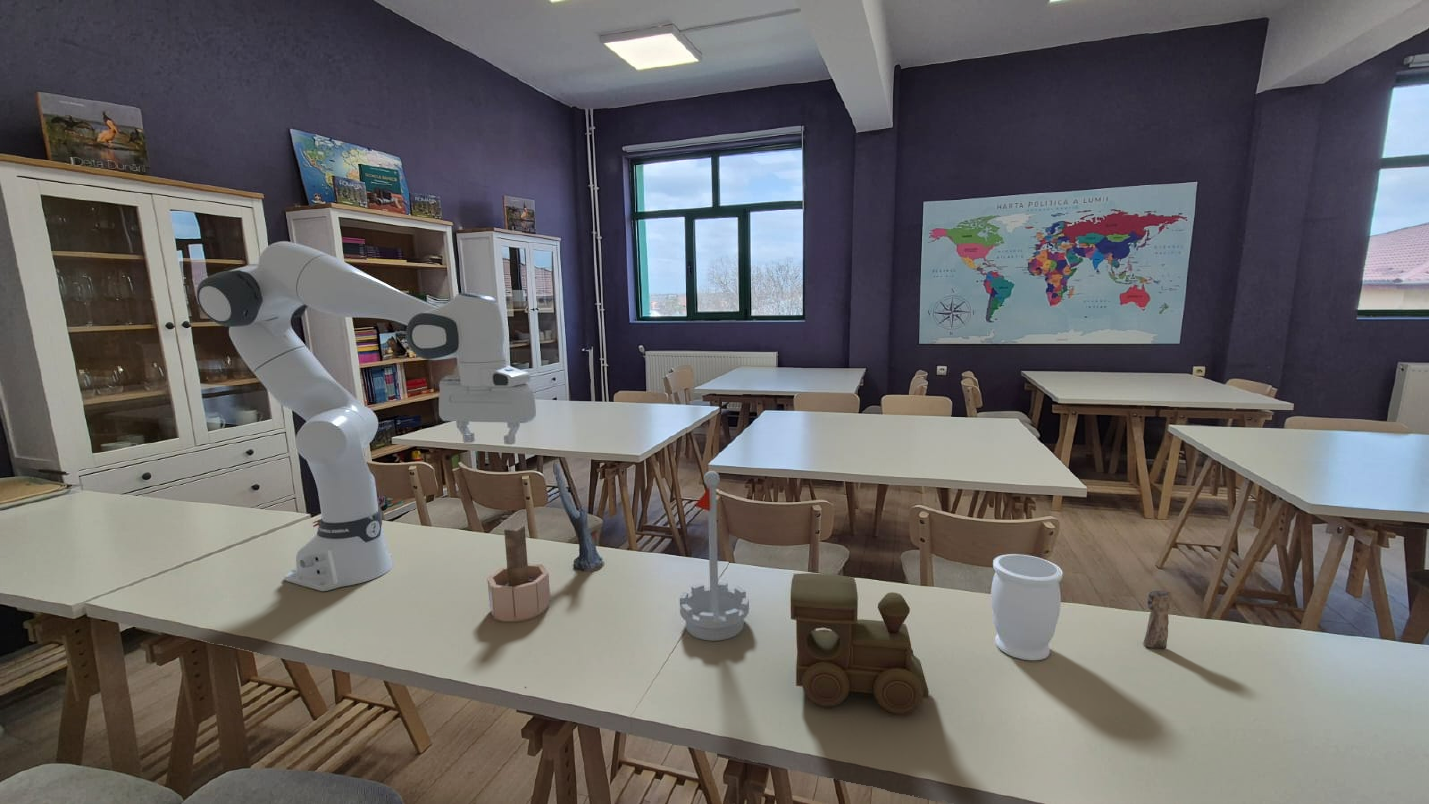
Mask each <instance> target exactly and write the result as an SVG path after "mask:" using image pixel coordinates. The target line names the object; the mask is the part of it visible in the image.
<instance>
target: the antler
mask: <svg viewBox="0 0 1429 804" xmlns="http://www.w3.org/2000/svg"><path fill="white" fill-rule="evenodd" d="M552 470H553V471H552V472H553V474H554V476H555V481H556V485H557V489H558V494H559V497H560V500H561V504H562V506H563V508H564V510H565V513H566V514H567V516H568V519H569V521H570V523H571V524H572V527H573V528H574V532H575V535H576V538H577V540H578V547H579V548H578V551H579V554H578V556H577V557H575V558H574V560H573V565H572V567H573V570H576V571H578V572H580V571H581V572H582V571H583V572H584V573H590V572H595V571H598V570H601V568H602V567H603V566H605V562H604V561H603V556H602V557H601V556H600V554H599V553H598V551H597V547H596V543H595V541H594V540H593V536H592V534H591V533H590V529H589V527H588V525H589V523H588V522H589V521H588V510H587V509H586V508H580V509H579V511H578V510H577V508H576V506H575V505H574V502H573V501H572V498H571V496H570V493H569V491H568V487H567V486H566V482H565V479H564V477H563V476H562V475H563V474H562V473H561V469H560V467H559V465H557V462H556V461H555V462H553V465H552Z"/></svg>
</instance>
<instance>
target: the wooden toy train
mask: <svg viewBox="0 0 1429 804" xmlns="http://www.w3.org/2000/svg"><path fill="white" fill-rule="evenodd" d="M790 584H791V585H790V620H794V621H796V622H795V624H796V625H795V626H796V628H795V629H796V630H795V631H796V632H795V633H796V662H795V663H796V664H795V668H796V669H795V678H796V679H795V685H796V687H802V689H803V692H804V693H805V696H806V697H807V698H809V700H810V701H811V702H813V703H815V704H816V705H818V706H820V707H826V708H828V707H834V706H839V704H841V703H842V702H844V701H845V699H847V697H848V696H849V694H850V692H855V693H856V692H857V693H866V694H867V693H869V694H873V697H874V698H875V700H876V701H877V703H878V704H879V705H880V706H881V708H883V709H884V710H886V711H888V712H889V713H891V714H896V715H906V714H908V713H911V712H914V711H915V710H916V709H918V707H919V706H920V704H922V703H921V702H922V701H923V699H929V695H930V694H929V693H930V692H929V688H928V685H927V681H926V677H925V674H924V671H923V667H922V663H921V660H920V659H919V658H918V657H916V655H915V654H914V650H913V648H912V643H911V637H910V633H909V630H908V627H907V625H906V623H904V622H905V621H906V619H907V618H908V616H909V614H910V612H911V608H910V606H909V605H908V603H907V601H906V599H905V598H904V597H903V595H902V594H900V593H898V592H893V591H892V592H888V593H886V594H885V595H884V596H883V597H882V599H880V601H879V602H878V603H877V609H878V612H879V614H880V616H881V618H882V620H875V619H874V620H873V619H861V618H860V619H858V610H859V609H858V608H859V607H858V606H859V603H858V601H859V596H858V595H859V594H858V587H857V583H856V579H855V577H853V576H849V575H848V576H846V575H842V574H840V575H839V574H832V573H830V574H829V573H816V572H815V573H812V572H811V573H810V572H808V573H804V572H803V573H793V576H792V579H791V583H790Z"/></svg>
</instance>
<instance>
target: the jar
mask: <svg viewBox="0 0 1429 804" xmlns="http://www.w3.org/2000/svg"><path fill="white" fill-rule="evenodd" d="M992 566H993V567H992V568H993V570H994V571H995V573H994V575H993V578H992V583H991V590H990V602H991V604H990V605H991V609H992V610H991V611H992V618H993V619H992V620H993V625H994V628H995V630H996V633H997V634H996V635H995V638H994V643H995V645H996V647H997V648H998V649H999V650H1001V652H1003V653H1004V654H1007V655H1008V656H1011V657H1013V658H1017V659H1019V660H1024V661H1041V660H1044V659H1046V658H1048V657H1049V655H1050V653H1051V650H1050V647H1049V644H1050V642H1051V641H1052V639H1053V637H1054V634H1055V631H1056V627H1057V625H1058V621H1059V617H1060V612H1061V607H1062V606H1061V604H1062V601H1061V599H1062V598H1061V597H1062V596H1061V594H1062V593H1061V587H1060V582H1061V581H1062V579H1063V570H1062V569H1061V568H1060V567H1059V565H1057V564H1055V563H1054V562H1051V561H1049V560H1046V559H1045V558H1041V557H1039V556H1033V555H1029V554H1021V553H1020V554H1019V553H1010V554H1009V553H1006V554H1002V555H998V556H996V557H995V558H994V559H993V560H992Z"/></svg>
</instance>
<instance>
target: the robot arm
mask: <svg viewBox="0 0 1429 804" xmlns="http://www.w3.org/2000/svg"><path fill="white" fill-rule="evenodd" d="M196 297H197V302H198V305H199V307H200V309H201V310H202V312H203V313H204V315H206V316H207V317H208V318H209V319H210V320H211V321H212V322H214V323H216V324H218V325H220V326H222V327H228V335H229V338H230V340H231V342H232V345H233V346H234V347H235V349H236V351H237V353H238V355H240V357H241V359H242V360H243V361H244V362H245V364H246V365H247V367H248V368H249V369H250V371H252V373H253V374H254V375H255V376H256V378H257V379H258V380H259V381H260V383H261V384H262V385H263V386H264V388H266V390H267V391H268V392H269V393H270V394H271V396H272V397H273V398H274V399H275V400H276V401H277V403H279V404H280V405H281V406H282V407H285V408H288V409H290V410H291V411H293V412H294V413H295V414H296V415H298V416H300V417H301V418H302V419H303V420H305V423H304V424H303V425H302V426H301V427H300V429H299V430H298V431H297V433H296V436H295V441H294V442H295V443H294V444H295V447H296V450H297V452H298V454H299V456H301V457H302V458H303V459H304V460H306V461H307V464H308V467H309V469H310V471H311V473H312V476H313V478H314V480H315V481H314V482H315V484H316V488H317V493H318V495H317V496H318V501H319V507H320V514H321V518H320V519H317V520H315V521H313V522H312V524H314V525H312V527H313V528H315V527H317V526H318V527H317V532H316V535H314V537H313V538H311V540H309V541H308V542H307V543H306V544H304V545H303V546H302V547H301V548H300V549H299V550H298V551H297V552H296V556H295V565H296V566H295V568H293V569H291V570H290V571H288V572H287V573H286V574H285V575H284V581H286V582H288V583H293V584H296V585H300V586H303V587H306V588H309V589H313V590H317V591H320V592H327V591H331V590H334V589H338V588H342V587H347V586H353V585H357V584H362V583H365V582H368V581H371V580H374V579H377V578H379V577H381V576H383V575H385V574H386V573H388V572H390V570H391V569H393V565H394V563H393V561H392V559H391V558H392V553H391V552H389V549H388V545H387V541H386V537H385V533H384V530H383V527H382V525H383V519H382V518H383V514H382V512H381V509H380V508H379V505H378V504H379V502H378V495H377V488H376V479H375V477H374V474H372V473H371V471H370V469H369V465H368V464H367V461H366V458H365V454H364V452H365V451H364V449H365V447H366V446H368V445H369V444H370V443H371V442H372V441H373V440H374V438H375V436H376V434H377V431H378V428H379V419H378V417H377V415H376V413H375V412H374V411H373V410H372V409H371V408H369V407H367V406H365V405H364V404H362V403H361V401H359V400H358V399H357V398H356V397H355V396H354V395H352V394H351V393H350V392H349V391H348V390H347V389H346V388H345V387H343V386H342V385H341V384H340V383H339V382H338V381H336V380H335V379H334V377H333V376H331V374H330V373H329V372H328V371H327V369H326V368H325V367H324V366H323V365H322V363H320V361H319V360H318V359H317V358H316V356H315V355H314V354H313V352H312V350H310V349H309V348H308V347H307V345H306V344H305V343H304V342H303V340H301V338H300V337H299V336H298V335H297V333H296V332H295V331H294V329H293V327H292V324H291V320H292V317H293V318H301V317H302V316H304V314H305V312H306V310H307V309H308V308H309V307H310V308H312V309H314V310H316V311H319V312H322V313H325V314H328V315H332V316H336V317H342V318H366V319H368V318H372V319H383V320H389V321H393V322H397V323H399V324H402V325H405V326H406V328H405V329H406V330H405V338H406V342H407V345H408V347H409V348H410V350H411V351H412V352H413V354H414V355H416V356H417V357H418V358H420V359H423V360H428V361H429V360H430V361H438V360H447V359H448V360H449V359H454V358H456V359H457V360H458V371H459V374H458V375H452V374H449V375H445V376H444V377H442V378H441V379H440V381H439V384H438V385H439V396H438V415H439V417H440V418H441V420H442V421H443V422H456V423H455V424H456V428H457V429H458V431H459V432H460V434H461V435H462V442H463V443H465V444H473V443H474V442H475V441H476V439H475V438H476V437H475V433H474V432H471V430H470V429H469V426H468V425H470V423H471V422H473V423H506V424H507V428H508V429H509V430H508V432H507V434H506V435H503V440H504V441H503V442H504V443H503V444H504V445H514V444H516V435H517V433H518V431H519V428H520V424H526V423H529V422H531V421H533V420H534V419H535V418H536V416H537V415H536V414H537V409H536V400H535V394H534V391H533V390H534V389H532V387H531V385H530V384H529V383H530V382H531V374H530V373H529V372H527V371H525V370H523V369H519V368H517V367H513V366H512V365H508V364H507V357H506V354H505V352H504V342H505V331H504V330H505V329H504V322H503V316H502V311H501V308H500V305H499V303H498V301H497V300H496V299H495V298H494V297H493V296H490V295H487V294H481V293H473V292H459V293H458V294H456V295H455V296H454V297H453V298H452V299H451V300H450V301H447V302H446V303H444V304H443V305H440V306H438V305H436V304H434V303H430V302H428V301H426V300H424V299H421V298H418V297H417V296H413V295H412V294H409V293H407V292H405V291H402V290H399V289H397V288H395V287H392V286H391V285H389V284H387V283H385V282H384V281H381V280H380V279H377V278H376V277H374V276H372V275H370V274H368V273H366V272H365V271H362V270H360V269H358V268H357V267H354V266H353V265H351V264H349V263H348V262H345V261H344V260H342V259H339V258H337V257H335V256H334V255H330V254H329V253H327V252H326V253H325V252H323V251H321V250H319V249H317V248H316V249H315V248H313V247H310V246H306V245H304V244H301V243H295V242H291V241H287V240H283V241H277V242H274V243H271V244H269V245H268V246H266V247H265V248H264V249H263V251H262V252H261V253H260V256H259V259H258V262H257V263H256V262H255V263H250V264H247V265H245V266H242V267H241V266H240V267H238V268H234V269H231V270H227V271H220V272H217V273H214V274H212V275H210V276H208V277H206V278H204V279H203V280H202V281H200V282H199V284H198V286H197V289H196Z"/></svg>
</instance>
